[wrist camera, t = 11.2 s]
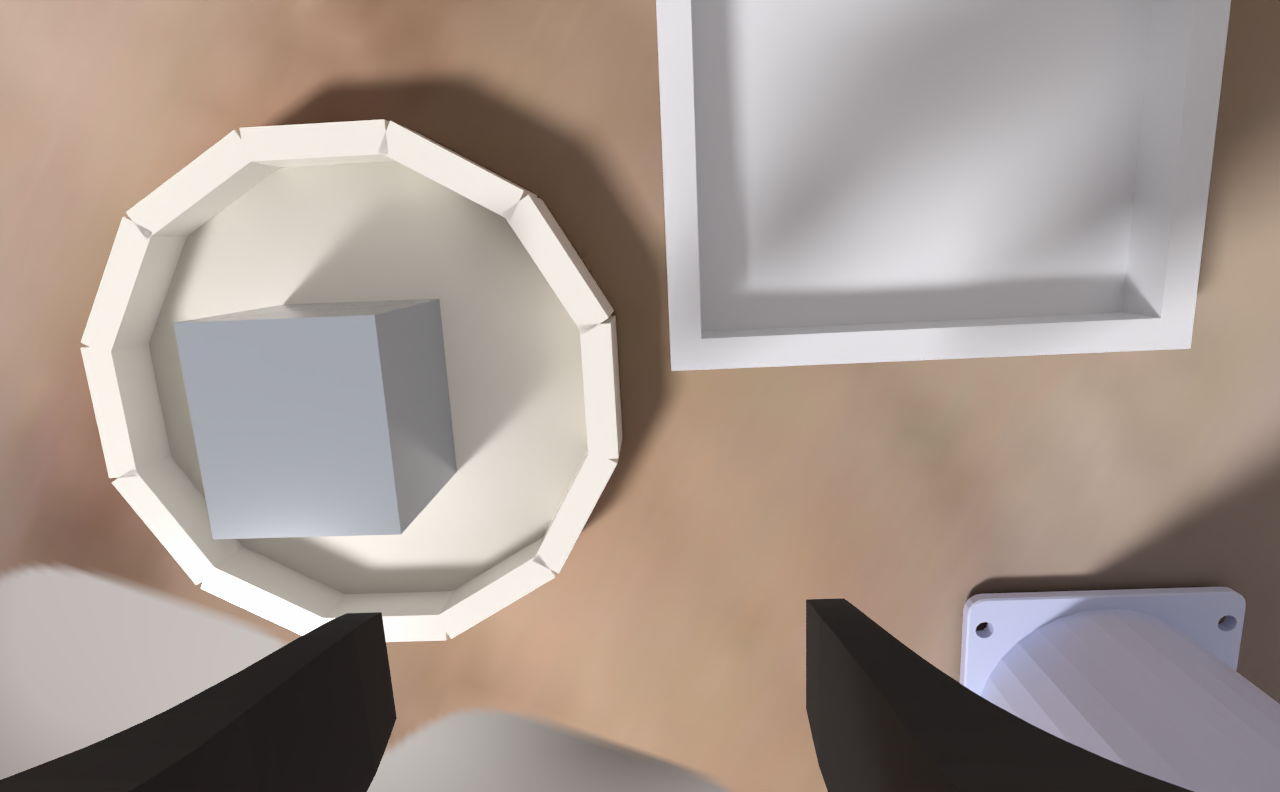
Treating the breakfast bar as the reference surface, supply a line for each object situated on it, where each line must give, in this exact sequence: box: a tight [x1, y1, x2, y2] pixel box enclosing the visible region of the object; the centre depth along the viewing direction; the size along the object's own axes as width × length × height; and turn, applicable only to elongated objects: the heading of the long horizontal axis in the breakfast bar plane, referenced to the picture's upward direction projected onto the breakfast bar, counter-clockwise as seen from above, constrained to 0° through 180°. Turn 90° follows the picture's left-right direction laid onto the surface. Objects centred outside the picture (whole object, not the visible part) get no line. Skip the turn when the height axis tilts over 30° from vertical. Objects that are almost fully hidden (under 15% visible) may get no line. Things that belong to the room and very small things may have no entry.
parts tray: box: [656, 0, 1231, 371], centre depth 18 cm, size 13×13×2 cm
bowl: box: [81, 119, 623, 642], centre depth 20 cm, size 14×14×2 cm
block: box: [174, 299, 457, 539], centre depth 18 cm, size 5×4×4 cm
